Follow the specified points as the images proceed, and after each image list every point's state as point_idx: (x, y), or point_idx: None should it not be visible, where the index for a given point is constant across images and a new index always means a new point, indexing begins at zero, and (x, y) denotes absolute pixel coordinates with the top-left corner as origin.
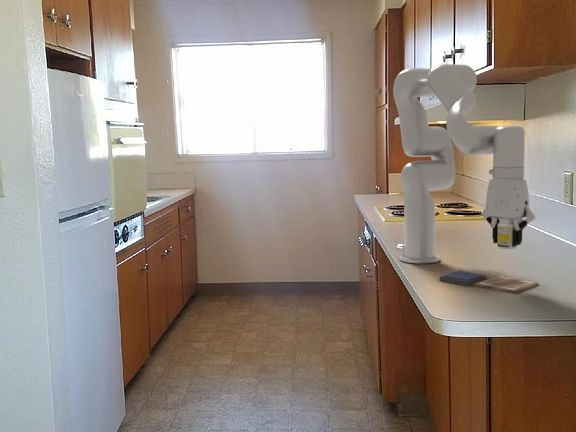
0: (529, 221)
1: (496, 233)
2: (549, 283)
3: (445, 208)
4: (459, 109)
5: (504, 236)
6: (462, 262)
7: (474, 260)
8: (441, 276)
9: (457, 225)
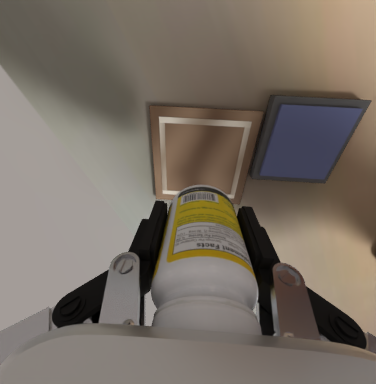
0: (26, 319)
1: (248, 239)
2: (150, 214)
3: None
4: None
5: (195, 215)
6: (327, 258)
7: (308, 273)
8: (365, 104)
9: None
